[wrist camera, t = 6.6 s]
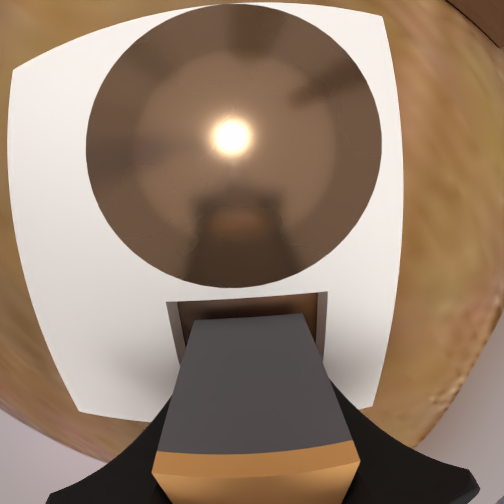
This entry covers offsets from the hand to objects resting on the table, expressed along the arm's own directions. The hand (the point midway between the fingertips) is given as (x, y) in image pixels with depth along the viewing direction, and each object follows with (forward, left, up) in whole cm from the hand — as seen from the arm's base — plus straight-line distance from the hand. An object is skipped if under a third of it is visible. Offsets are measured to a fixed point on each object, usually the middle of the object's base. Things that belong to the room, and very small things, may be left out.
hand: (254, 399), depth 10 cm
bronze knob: (0, +8, -2) cm, 9 cm away
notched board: (-2, +6, -3) cm, 7 cm away
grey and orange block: (0, 0, -2) cm, 2 cm away
